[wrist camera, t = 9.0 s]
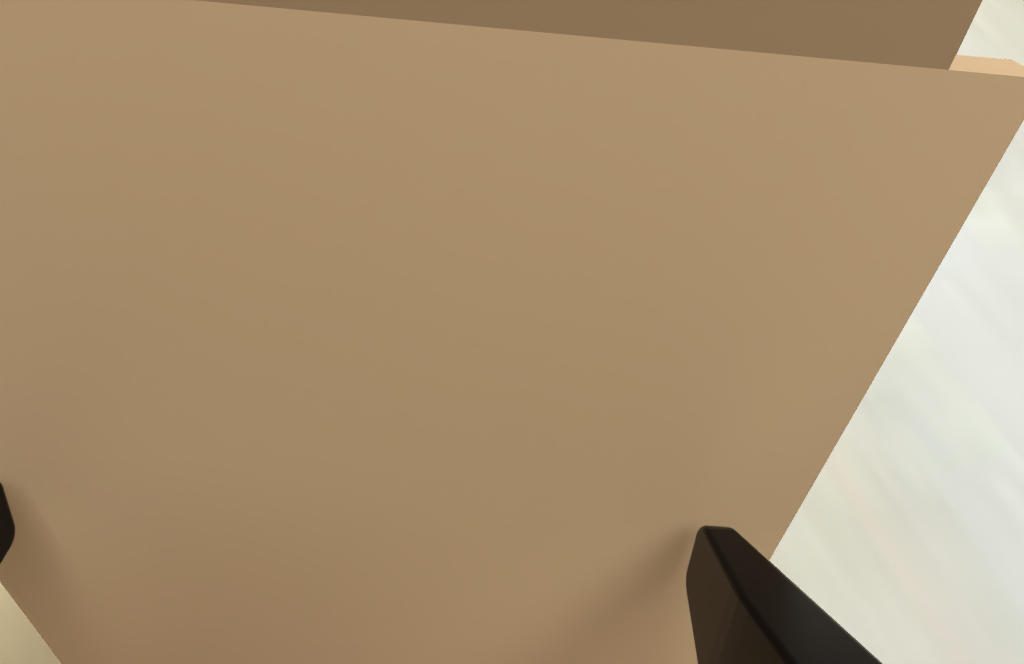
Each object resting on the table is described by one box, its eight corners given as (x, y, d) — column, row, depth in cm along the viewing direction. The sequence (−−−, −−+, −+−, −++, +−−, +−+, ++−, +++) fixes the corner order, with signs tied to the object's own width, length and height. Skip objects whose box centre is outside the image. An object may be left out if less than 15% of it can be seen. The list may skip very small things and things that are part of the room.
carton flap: (1242, -260, 4) (1178, -253, 4) (-800, -485, 4) (-670, -456, 4) (681, 710, 13) (677, 684, 13) (70, 675, 12) (84, 648, 13)
